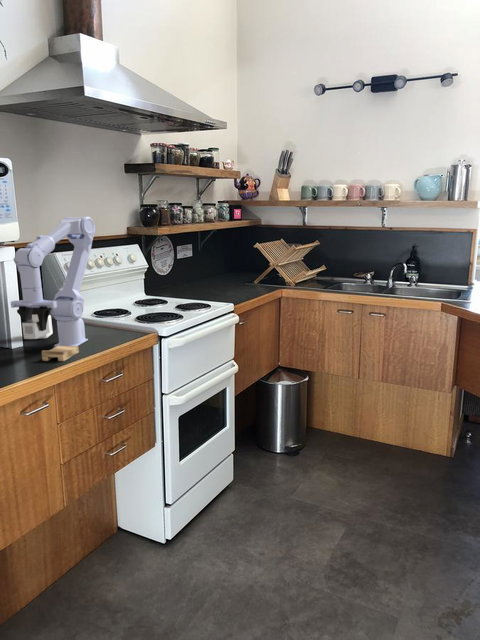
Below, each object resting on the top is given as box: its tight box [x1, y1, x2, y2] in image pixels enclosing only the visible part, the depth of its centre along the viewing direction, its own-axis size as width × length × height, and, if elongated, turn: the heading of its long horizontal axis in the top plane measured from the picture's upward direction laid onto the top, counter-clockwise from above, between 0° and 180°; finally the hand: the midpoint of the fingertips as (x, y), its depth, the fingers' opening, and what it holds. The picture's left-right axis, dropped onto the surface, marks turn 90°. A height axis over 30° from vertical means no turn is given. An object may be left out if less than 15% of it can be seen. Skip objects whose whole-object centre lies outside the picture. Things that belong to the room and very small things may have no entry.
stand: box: [41, 346, 80, 362], centre depth 165 cm, size 10×7×3 cm
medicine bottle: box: [32, 305, 54, 340], centre depth 190 cm, size 7×7×12 cm
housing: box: [21, 317, 50, 340], centre depth 164 cm, size 8×4×5 cm, turn 170°
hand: (36, 330), depth 165 cm, fingers closed on housing, 4 cm apart
